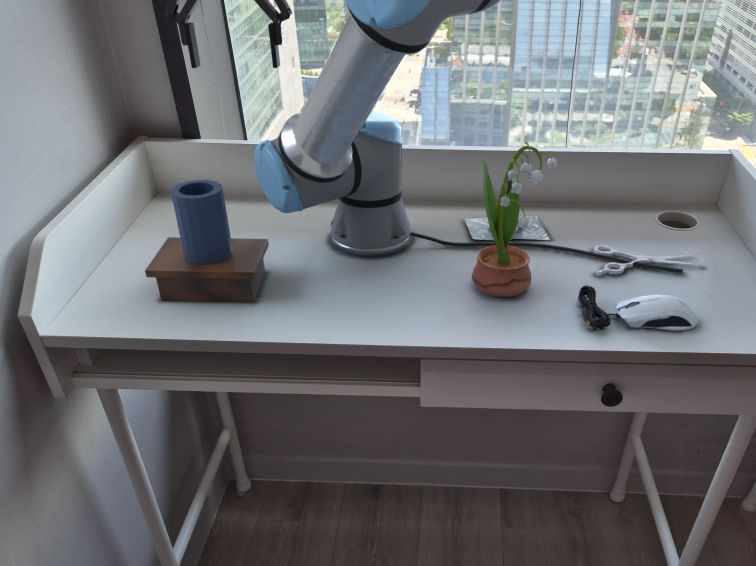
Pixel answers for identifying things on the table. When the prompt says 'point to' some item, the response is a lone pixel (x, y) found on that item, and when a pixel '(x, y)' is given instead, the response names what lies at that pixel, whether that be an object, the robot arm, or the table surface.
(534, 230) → the flat silver square plate
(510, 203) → the potted flower
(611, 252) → the scissors
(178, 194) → the jar
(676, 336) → the table surface
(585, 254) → the robot arm
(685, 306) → the computer mouse
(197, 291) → the overhanging wooden cap box
